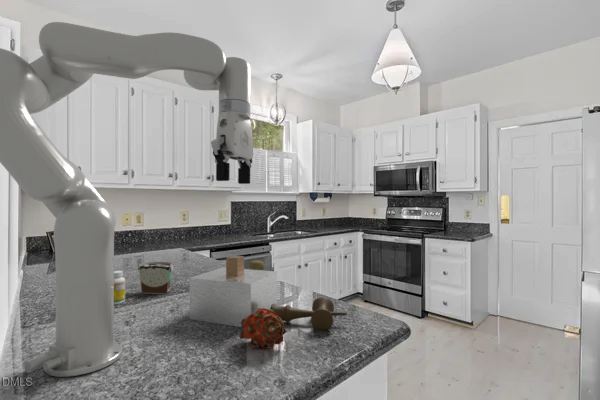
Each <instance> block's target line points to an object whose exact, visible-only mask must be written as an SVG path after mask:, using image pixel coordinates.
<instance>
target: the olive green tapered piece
mask: <svg viewBox="0 0 600 400" xmlns="http://www.w3.org/2000/svg"><path fill="white" fill-rule="evenodd" d="M264 268H265V263H264V261H262V260H259V259H258V260H257V259H256V260H252V261H250V262H249V267H248V269H250V270H263V271H264Z"/></svg>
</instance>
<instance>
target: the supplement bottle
mask: <svg viewBox="0 0 600 400" xmlns="http://www.w3.org/2000/svg"><path fill="white" fill-rule="evenodd" d="M123 276H124V272H123V270H114V306H115V305H120V304H123V303H125V301H126V278H125V277H123Z"/></svg>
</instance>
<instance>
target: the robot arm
mask: <svg viewBox="0 0 600 400" xmlns="http://www.w3.org/2000/svg"><path fill="white" fill-rule="evenodd" d="M38 43H39V44H38V45H39V48H40V51H41V53H42V55H41V56H39V57H38V58H37V59H35V60H34V61H31V62H27V60H25V59H24V58H23V57H21V56H19V55H18V54H16V53H14V52H13V51H11V50H8V49H5V48H1V47H0V164H1V166H3V168H5V170H6V171H7V172H8V174H9V175H10V176H11V178H13V180H14V181H15V182H16V184H17V186H19V188H20V189H21V191H22V192H23V193H25V195H26V196H28V197H30V198H31V199H33V200H35V201H38V202H42V203H43V205H44V206H45V207H46V208H47V209H48V211H49V212H50V213H51V214H52V215H53V216H54V217H55V222H54V227H53V243H54V254H55V336H54V337H55V339H54V341H55V343H53V344H50V345H49V347H48V351H46V352H45V353H44V354H43V355H41V356H38V357H35V358H33V359H31V360H27V361H26V362H25V363H24V370H25V372H26V373H28V374H29V373H32V372H34V371H37V370H39V369H41V368H42V369H43V371H44V372H45V373H46V375H49V376H53V377H57V378H59V377H60V378H68V377H77V376H82V375H85V374H89V373H93V372H96V371H99V370H102V369H104V368H106V367H108V366H110V365H113V363H115V362H117V360H119V359H120V357H121V356H122V354H123V347H122V345H121V344H119V343H118V342H114V337H115V336H114V331H115V327H114V324H115V323H114V321H115V319H114V317H115V314H114V313H115V312H114V310H115V309H114V308H115V305H114V271H115V228H116V224H117V223H116V215H115V212H114V211H113V209H112V208H111V207H110V206H109V204H108V203H107V202H106V200H105V199H104V198H103V197H102V196H101V194H100V193H99V192H98V190H97V189H96V188H95V187H94V186H93V185H92V183H91V182H90V180H89V179H88V178H87V177H86V175H85V174H84V173H83V171H82V170H81V169H80V168H79V166H77V165H76V164H75V163H74V162H72V161H71V160H70V159H68V158H67V157H65V155H64V154H63V153H62V152H61V151H60V150H59V149H58V148H57V146H56V145H55V144H54V143H53V142H52V140H51V139H50V138H49V136H48V135H47V134H46V133H45V131H44V129H42V127H41V126H40V125H39V123H38V122H37V121H36V119H35V118H34V117H33V115H32V114H36V113H37V114H38V113H40V112H43V111H44V110H47V109H48V108H50V107H51V106H53V105H55V104H56V103H58V102H59V101H60V100H62V99H64V98H66V97H67V96H68V95H70V94H71V93H73V92H74V91H76V90H77V89H78V88H80V87H82V86H83V85H84V84H85V83H87V82H88V81H89V80H90V79H92V77H93V75H94V74H96V75H101V76H110V77H116V78H123V79H124V78H125V79H129V80H136V79H140V78H144V77H146V76H149V75H151V74H152V73H156V72H158V71H165V70H166V71H167V70H175V71H176V70H178V71H183V78H184V80H185V82H186V84H188V86H189V87H191V88H193V89H195V90H199V91H218V118H217V126H216V135H215V137H216V138H215V139H212V140H211V141H210V144H211V148H212V155H213V157H214V163H215V164H216V165H215V167H216V168H215V181H217V182H228V181H230V173H231V172H230V170H231V169H230V167H231V166H230V165H231V164H230V162H229V160H233V161H237V163H238V166H239V167H238V168H237V169H238V170H237V171H238V172H237V173H238V174H237V176H238V177H237V178H238V179H237V182H238V184H240V185H241V184H242V185H243V184H245V185H247V184H248V185H249V184H251V168H252V163H253V158H254V145H253V143H254V141H253V140H254V139H253V128H252V124H251V123H252V122H251V66H250V64H249V62H248V61H247V60H245V59H244V58H241V57H236V56H228V57H226V55H225V53H224V51H223V49H222V48H221V47H220V46H219V45H218V44H217V43H216V42H213V41H211V40H209V39H207V38H203V37H199V36H195V35H191V34H186V33H182V32H181V33H179V32H158V33H146V34H139V35H133V34H132V35H131V34H125V33H120V32H116V31H115V32H113V31H110V30H104V29H99V28H95V27H91V26H90V27H89V26H86V25H85V26H84V25H79V24H74V23H69V22H61V21H52V22H48V23H46V24H45V25H43V26H42V27H41V29H40V31H39V35H38Z"/></svg>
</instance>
